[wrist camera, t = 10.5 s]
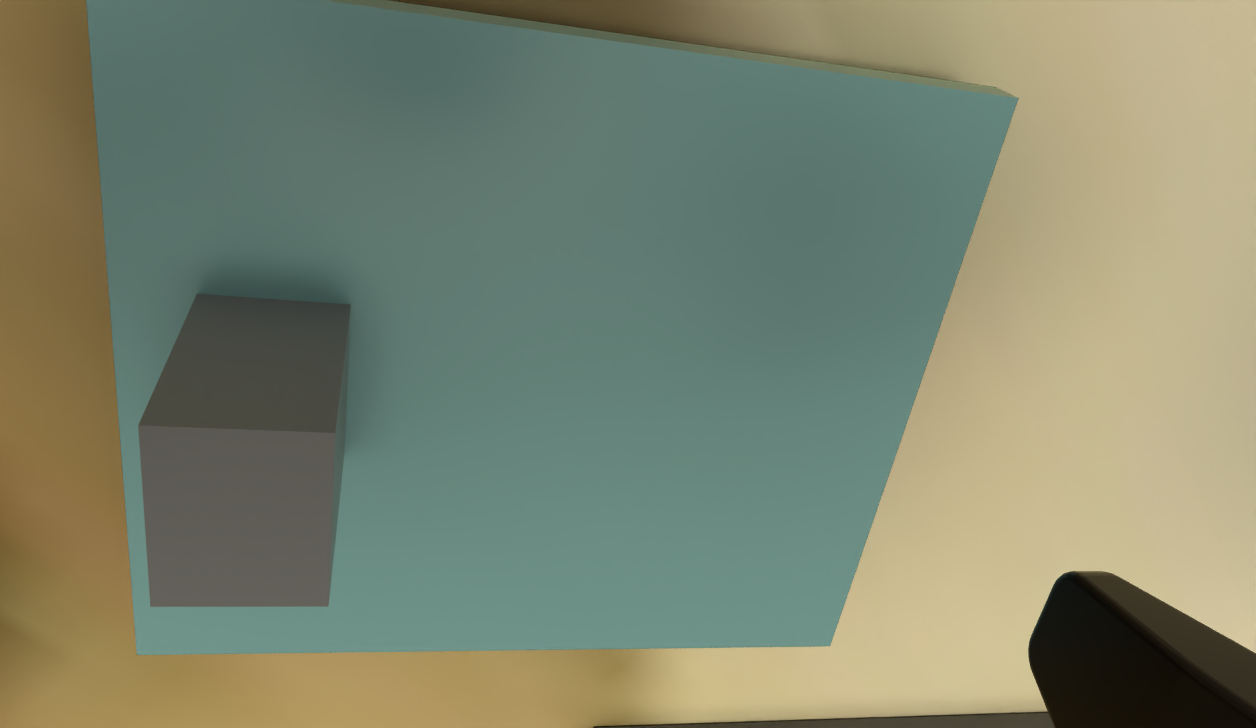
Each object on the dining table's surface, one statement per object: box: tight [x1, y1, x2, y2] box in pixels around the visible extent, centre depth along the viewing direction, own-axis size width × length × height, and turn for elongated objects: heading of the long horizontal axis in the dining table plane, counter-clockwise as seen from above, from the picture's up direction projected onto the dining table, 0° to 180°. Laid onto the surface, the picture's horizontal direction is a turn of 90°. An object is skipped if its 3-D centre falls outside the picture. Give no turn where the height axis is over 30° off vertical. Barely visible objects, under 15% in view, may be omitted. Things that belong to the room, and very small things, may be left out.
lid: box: [86, 0, 1018, 655], centre depth 17 cm, size 15×13×6 cm
